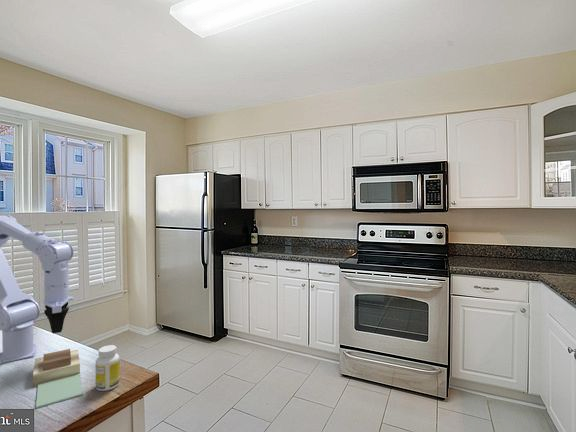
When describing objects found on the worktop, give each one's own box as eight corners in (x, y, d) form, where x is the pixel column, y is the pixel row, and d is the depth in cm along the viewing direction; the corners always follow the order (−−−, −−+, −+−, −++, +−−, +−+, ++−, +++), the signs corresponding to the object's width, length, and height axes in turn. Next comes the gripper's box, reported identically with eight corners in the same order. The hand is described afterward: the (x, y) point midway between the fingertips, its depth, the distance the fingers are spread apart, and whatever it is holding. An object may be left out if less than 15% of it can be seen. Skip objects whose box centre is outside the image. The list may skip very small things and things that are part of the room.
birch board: (35, 369, 88) (35, 358, 88) (77, 359, 94) (77, 349, 94) (33, 386, 80) (32, 375, 80) (79, 374, 86) (79, 363, 86)
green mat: (38, 385, 81) (38, 384, 81) (80, 374, 86) (80, 373, 86) (35, 408, 72) (35, 406, 72) (82, 395, 77) (82, 393, 77)
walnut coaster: (43, 361, 87) (43, 354, 87) (70, 355, 91) (70, 348, 91) (43, 370, 82) (42, 363, 82) (70, 364, 86) (70, 357, 86)
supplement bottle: (120, 378, 85) (120, 342, 85) (119, 388, 80) (119, 351, 80) (96, 382, 83) (96, 345, 82) (94, 393, 78) (94, 355, 78)
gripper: (74, 288, 89) (74, 335, 89) (72, 277, 100) (72, 319, 101) (42, 291, 84) (43, 341, 85) (44, 280, 96) (44, 324, 97)
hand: (56, 330), depth 93 cm, fingers open, 3 cm apart
